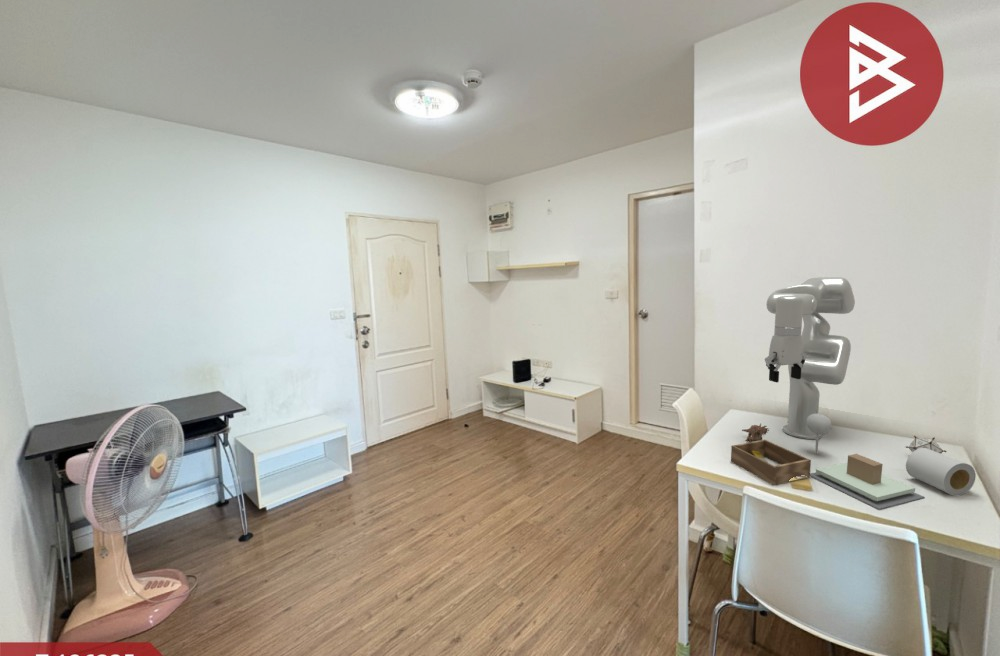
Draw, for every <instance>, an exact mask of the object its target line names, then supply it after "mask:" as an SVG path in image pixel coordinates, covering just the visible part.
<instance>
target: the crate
mask: <svg viewBox="0 0 1000 656" xmlns="http://www.w3.org/2000/svg"><path fill="white" fill-rule="evenodd" d="M730 448H731V449H730V450H731V451H730V452H731V453H730V462H731V463H732V464H734V465H736V466H738V467H739V468H740V469H741V468H742V469H744V470H745V471H747V472H749V473H751V474H752V475H754V476H755V477H758V478H760V479H761V480H763V481H765V482H766V483H769V484H771V485H772V486H777V485H783V484H787V483H790V482H789V480H790V479H791V478H793V477H796V476H801V475H805V476H807V477H808V478H811V477H810V473H811V468H812V467H811V466H812V465H811V463H812V459H809V458H808V457H805V456H803V455H801V454H799V453H796V452H794V451H792V450H789V449H788V448H785V447H782V446H780V445H778V444H775V443H773V442H772V441H769V440H767V439H762V440H760V441H755V440H754V441H752V442H745V443H744V442H743V443H739V444H732V445H731V447H730ZM751 451H759V452H760V453H761V454H762V456H763V457H764V458H765V459H769V460H771V461H773V462H774V463H777V465H773V464H771V463H769V462H768V461H767V462H768V463H767V462H765V461H763V460H761V459H759V458H757V457H755V456H754V455H752V454H751ZM808 478H807V479H808Z"/></svg>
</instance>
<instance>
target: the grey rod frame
mask: <svg viewBox="0 0 1000 656" xmlns="http://www.w3.org/2000/svg"><path fill="white" fill-rule="evenodd" d="M913 438H914V439H913V440H912V442H911V443H910V444H909V446H907V445H906V446H905V448H906V449H909V451H910V452H911V453H912V452H914V451H915V450H917V449H920V448H927V449H930V450H932V451H935V452H938V453H940V454H942V453H943V452H945V453H947V452H948V451H947V450H945V449H944V450H943V449H942V448H941V446H940V445H939V444H938V443H937V442H936V441H935V439H936V438H935V436H934V437H932V438H926V437H917V436H916V435H913Z"/></svg>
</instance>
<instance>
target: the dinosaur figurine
mask: <svg viewBox="0 0 1000 656" xmlns="http://www.w3.org/2000/svg"><path fill="white" fill-rule="evenodd" d="M767 426H768V425H763V426H762V423H760V424H759V425H758V424H757V425H756V424H754V425H751V426H750V427H749V428H747V429H741V431H742V432H745V433H747V435H748V436H747V437H746V439H745V440H744V441H745V442H746V443H749V442H753V440H754V441H760V440H763V436H765V435H766V434H767V433H768V432H769V431H770V429H769V428H768V427H767Z"/></svg>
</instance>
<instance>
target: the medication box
mask: <svg viewBox="0 0 1000 656" xmlns="http://www.w3.org/2000/svg"><path fill="white" fill-rule="evenodd" d="M751 454H752V455H754V456H755V457H757V458H759V459H761V460H763V461H765V462H767V463H769V462H768V461H767V458H766V457H763V456H762V454H761V453H760V452H759V451H751Z"/></svg>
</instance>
